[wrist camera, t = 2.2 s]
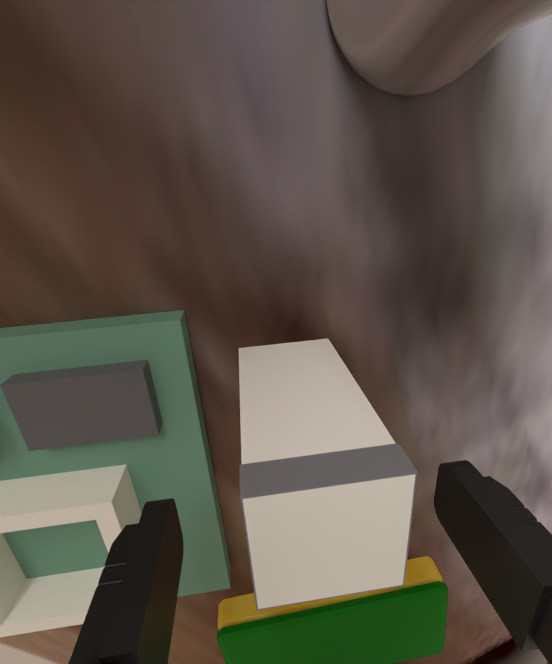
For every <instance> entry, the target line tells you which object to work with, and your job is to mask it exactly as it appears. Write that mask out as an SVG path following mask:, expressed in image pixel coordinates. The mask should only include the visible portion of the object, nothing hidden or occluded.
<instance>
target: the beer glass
mask: <svg viewBox="0 0 552 664" xmlns="http://www.w3.org/2000/svg"><path fill="white" fill-rule="evenodd" d="M326 4H327V10H328V16H329V20H330V24H331V28H332V31H333V34H334V37H335V39H336V42H337V44H338V46H339V48H340V50H341V52H342V54H343V55H344V57H345V58H346V60H347V61H348V63H349V64H350V66H351V67H352V68H353V69H354V70H355V71H356V72H357V74H358V75H360V76H361V77H362V78H363V79H364V80H365V81H367V82H368V83H370V84H371V85H373V86H374V87H376V88H378V89H380V90H383V91H385V92H388V93H392V94H397V95H420V94H425V93H429V92H432V91H435V90H438V89H440V88H442V87H444V86H446V85H448V84H449V83H451V82H453V81H454V80H456V79H457V78H459V77H460V76H462V75H463V74H464V73H465V72H467V71H468V70H469V69H470V68H471V67H473V66H474V65H475V64H476V63H477V62H478V61H479V60H480V59H482V58H483V57H484V56H485V55H486V54H487V53H488V52H489V51H490V50H491V49H493V48H494V47H495V46H496V45H497V44H498V43H499V42H500V41H502V40H503V39H504V38H505V37H507V36H508V35H510V34H511V33H513V32H515V31H516V30H518V29H520V28H522V27H524V26H526V25H528V24H530V23H532V22H534V21H536V20H538V19H541V18H544V17H547V16H550V15H552V0H326Z"/></svg>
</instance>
